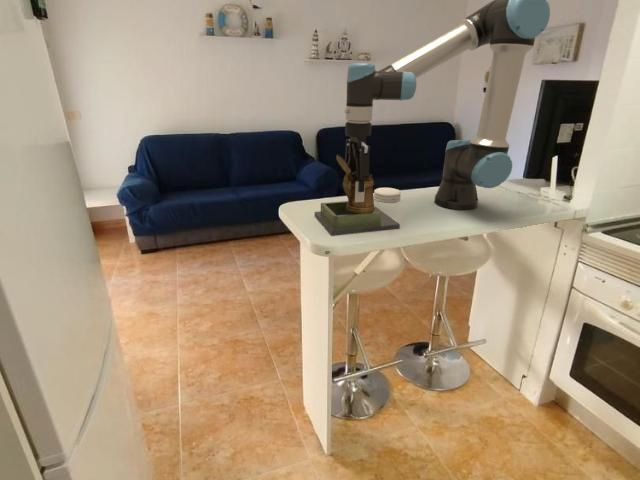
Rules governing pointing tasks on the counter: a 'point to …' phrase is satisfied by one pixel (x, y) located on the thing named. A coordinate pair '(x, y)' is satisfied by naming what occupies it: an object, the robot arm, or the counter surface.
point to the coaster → (387, 195)
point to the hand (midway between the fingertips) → (354, 198)
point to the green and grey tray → (352, 220)
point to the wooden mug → (351, 177)
